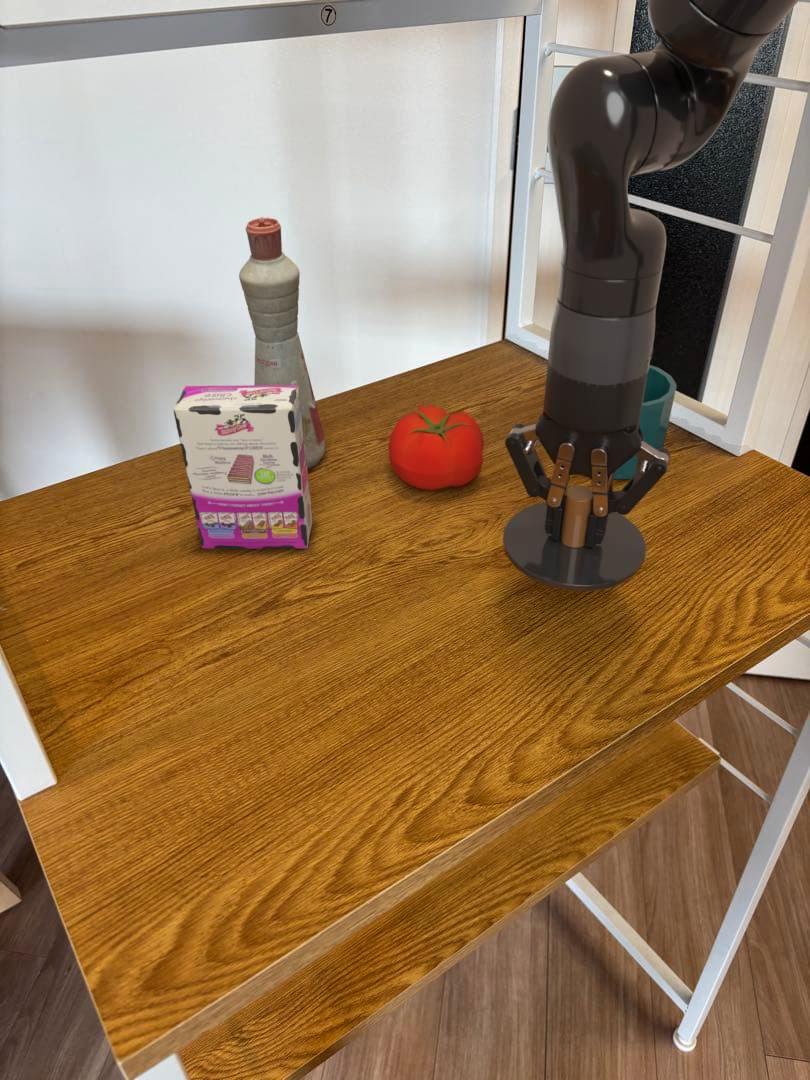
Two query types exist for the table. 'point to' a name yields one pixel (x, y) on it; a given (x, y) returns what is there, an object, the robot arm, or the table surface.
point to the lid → (574, 546)
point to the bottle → (279, 325)
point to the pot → (652, 415)
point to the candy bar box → (246, 465)
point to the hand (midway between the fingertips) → (574, 538)
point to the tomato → (436, 448)
